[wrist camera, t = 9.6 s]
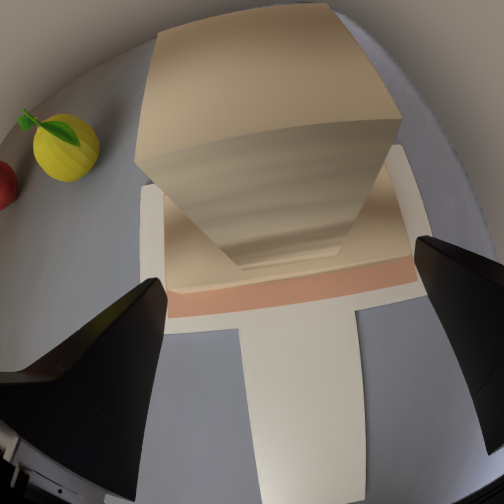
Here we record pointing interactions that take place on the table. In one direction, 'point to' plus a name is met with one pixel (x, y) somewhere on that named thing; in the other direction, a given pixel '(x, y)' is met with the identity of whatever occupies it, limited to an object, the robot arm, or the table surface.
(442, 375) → the table surface
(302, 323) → the tee mat
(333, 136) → the birch tee block
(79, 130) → the lemon
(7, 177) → the onion
